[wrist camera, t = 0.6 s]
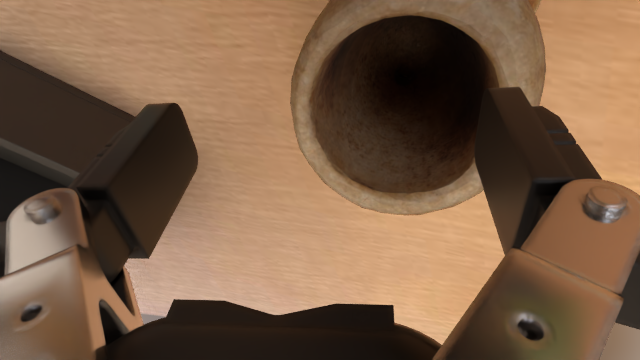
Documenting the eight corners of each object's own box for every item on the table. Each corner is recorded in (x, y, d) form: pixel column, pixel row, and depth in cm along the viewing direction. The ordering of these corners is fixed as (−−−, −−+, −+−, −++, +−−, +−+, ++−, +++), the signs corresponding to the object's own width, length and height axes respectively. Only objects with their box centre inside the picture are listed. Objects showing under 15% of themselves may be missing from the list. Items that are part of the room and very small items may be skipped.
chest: (-23, 145, 39) (-97, 199, 33) (-32, 35, 31) (-131, 79, 25) (133, 213, 42) (90, 273, 36) (159, 128, 35) (111, 187, 29)
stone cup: (381, -141, 21) (366, -124, 10) (568, -39, 23) (743, 78, 11) (287, 93, 31) (225, 241, 19) (424, 153, 32) (441, 320, 21)
